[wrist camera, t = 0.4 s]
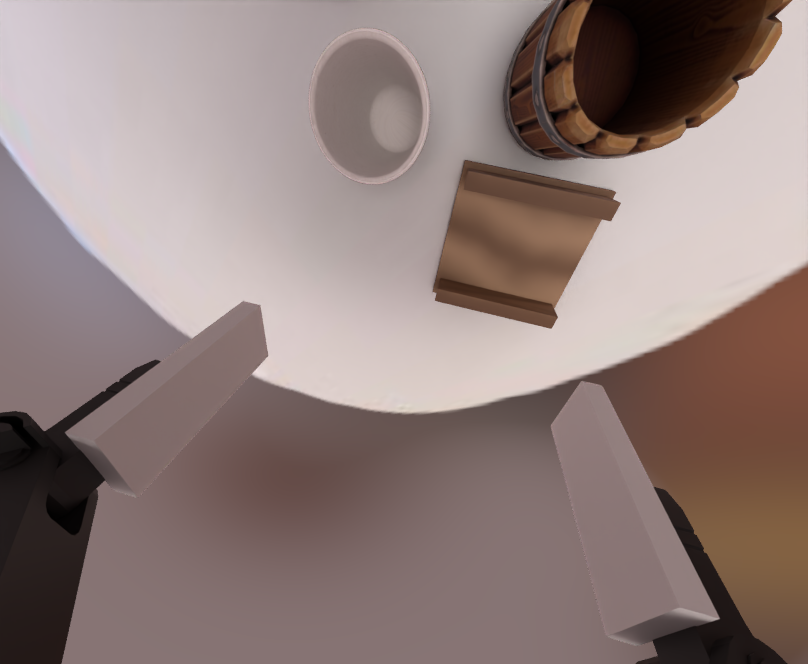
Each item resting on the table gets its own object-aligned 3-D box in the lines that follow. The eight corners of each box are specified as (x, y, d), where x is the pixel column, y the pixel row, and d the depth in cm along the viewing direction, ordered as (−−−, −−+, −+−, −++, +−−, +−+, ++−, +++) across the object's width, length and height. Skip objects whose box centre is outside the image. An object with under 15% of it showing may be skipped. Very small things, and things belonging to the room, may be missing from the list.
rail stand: (465, 160, 29) (464, 163, 25) (612, 190, 28) (630, 197, 25) (433, 289, 37) (429, 303, 33) (546, 316, 36) (554, 333, 33)
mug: (516, 178, 29) (549, 212, 16) (488, 42, 24) (505, -55, 12) (727, 95, 23) (1017, 51, 11) (745, -106, 18) (1306, -598, 6)
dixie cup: (382, 36, 25) (337, -12, 17) (461, 102, 26) (456, 87, 18) (341, 136, 29) (290, 138, 21) (410, 188, 31) (388, 208, 23)
